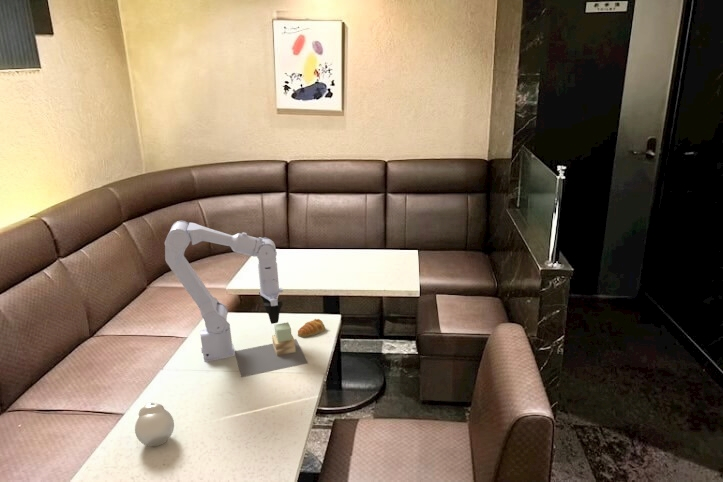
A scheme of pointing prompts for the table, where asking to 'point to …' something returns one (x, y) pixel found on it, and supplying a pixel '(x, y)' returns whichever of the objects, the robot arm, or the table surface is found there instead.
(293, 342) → the tower top slab
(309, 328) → the pastry
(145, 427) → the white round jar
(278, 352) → the tower base slab
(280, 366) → the mat
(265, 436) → the table surface
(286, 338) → the green block
